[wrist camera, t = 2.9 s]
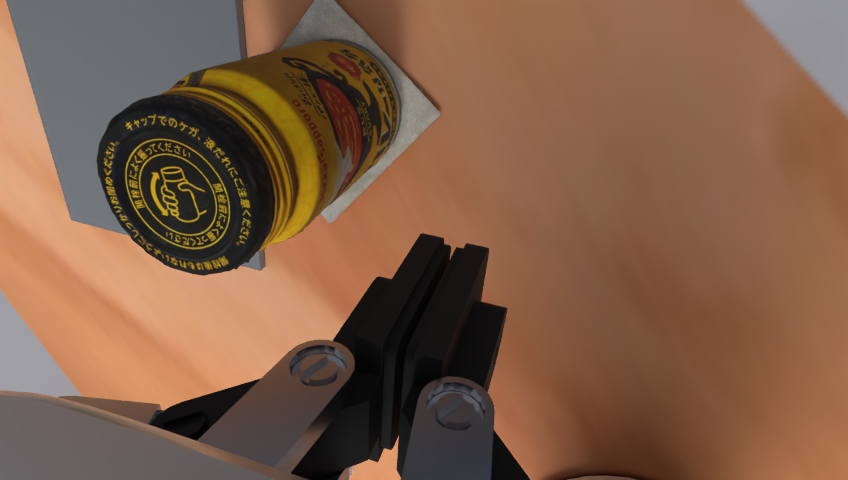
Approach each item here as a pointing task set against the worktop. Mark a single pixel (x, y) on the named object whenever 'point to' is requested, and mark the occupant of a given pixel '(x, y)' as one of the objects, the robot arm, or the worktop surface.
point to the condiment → (259, 145)
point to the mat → (114, 74)
